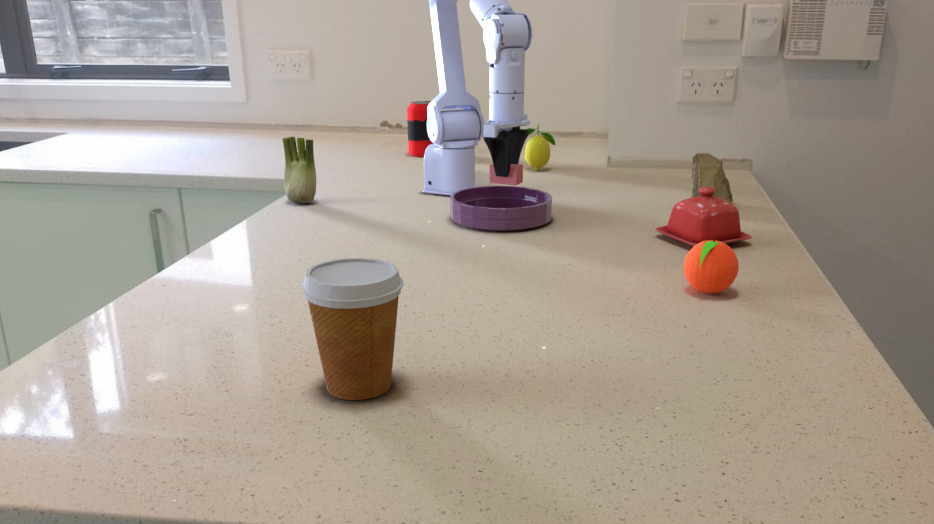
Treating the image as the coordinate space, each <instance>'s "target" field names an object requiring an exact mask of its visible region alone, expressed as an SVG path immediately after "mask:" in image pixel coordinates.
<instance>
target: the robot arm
mask: <svg viewBox="0 0 934 524" xmlns="http://www.w3.org/2000/svg"><path fill="white" fill-rule="evenodd" d="M458 1H459V0H428V4H429V5H428V6H429V14H430V20H431V28H432V37H433V43H434V44H433V45H434V55H435V63H436V71H437V80H438V89H439V93H438V94H437V95H436V96H435V97H434V98H433V99H432V100H430V101H431V102H430V103H429V105H428V107H427V115H428V118H427V132H428V136H429V139H430V140H431V141H432V143H433V144H431V145H429V146H428V147H427V148H426V150H425V154H424V157H423V186H424V187H423V188H424V189H422V193H424V194H433V195H444V196H451V195H452V193H454V192H457V191H459V190H463V189H467V188H472V187H480V185H476V147H477V146H479V142H480V141H481V140H482V139H483V141H484V143H485V145H486V146H487V149H488V151H489V154H490V157H491V161H492V164H493V166H494V170H495V174H496V176H500V177H508V175H509V172H510V166H511V164H520V163H519V162H520V158H521V154H522V151H523V148H524V145H525V143H526V141H527V139H528V137H529V136H530V135H529V130H526V129H527V128H526V129H524V128H521V127H527V126H530V125H531V120H530V119H528V114H527V113H525V65H526V64H525V63H526V61H525V59H526V52H527V50H529V48H530V47H531V44H532V40H533V26H532V22H531V20H530V18H529V15H528V14H527V13H525V12H519V11H515V10H514V9H513V8H512V6H511V4H510V3H509V2H508V0H469V9H470V12H471V13H472V14H473V16H474V18H475V19H476V20H477V22H478V23H479V26H480V27H481V28H482V30H483V32H482V39H483V45H484V48H485V56H486V57H485V59H486V62H487V63H488V64H489V102H488V103H489V105H488V106H489V107H488V110H489V113H488V114H489V118H488V119H487V122H486V123H485V119H484V115H483V113H482V109H481V105H480V101H479V99H477V98H476V97H475V96H474V95H472V94H471V93H470V92H469V91H467V87H466V86H467V85H466V77H465V69H464V68H465V67H464V60H463V52H462V51H463V50H462V41H461V33H460V24H459V15H458V14H459V13H458V6H457V3H458ZM528 135H529V136H528Z"/></svg>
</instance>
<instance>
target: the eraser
mask: <svg viewBox="0 0 934 524" xmlns="http://www.w3.org/2000/svg"><path fill="white" fill-rule="evenodd" d="M488 170H489V172H488V173H489V175H488V176H489V179H488V180H489V181H488V182H489V184H497V185H505V186H518V185H520V184H522V183H523V182H524V164H520V163H518V164H511V166H510V172H509V175H508V177H500V176H496V174H495V170H494V166H493V163H492V164H489V167H488Z"/></svg>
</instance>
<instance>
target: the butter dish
mask: <svg viewBox="0 0 934 524" xmlns="http://www.w3.org/2000/svg"><path fill="white" fill-rule="evenodd" d="M698 192H699V193H700V196H698V197H692V198H691V197H688V198H685V199H682V200H680V201H678V202H677V203H675V204H674V205H673V207H672V209H671V212H670V214H669V218H668V221H667V224H666V225H662V226H657V227H656V228H655V229H654V230H655V231H656V232H658V233H660V234H662V235H665V236H667V237H670V238H671V239H673V240H676V241H679V242H681V243H683V244H686V245H688V246H691V247H692V248H693V247H694V246H695V245H697V244H698V243H700V242H702V241H706V240H714V239H715V240H716V241H721V242H724V243H725V244H727V245H729V244H734V243H736V242H737V243H738V242H742V241H743V242H744V241H747V240H750V239H752V238H753V237H752V235H750V234H749V233H746V232H744V231H742V229H741V219H740V212H739V209H738V207H737V206H736V205H735V204H733V203H729V202H728V201H725V200H723V199H720V198H717V197H713V194H714V192H715V189H713V188H711V187H702V188H700V189H699V190H698Z"/></svg>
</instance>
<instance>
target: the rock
mask: <svg viewBox="0 0 934 524" xmlns="http://www.w3.org/2000/svg"><path fill="white" fill-rule="evenodd" d="M690 172H691V191H690V198H692V197H698V196H700V193H699V192H698V190H699V189H700V188H702V187H711V188H713V189H715V192H714V194H713V197H717V198H720V199H723V200H725V201H728V202H729V203H731V204H733V202H734V198H733V194H732V191H731V185H730V182H729V179H728V178H727V176H726V174H725V169H724V168H723V160H721V159H719V158H717V157H716V156H714V155H712V154H711V153H709V152H702V153H700V152H697V153H695V154H694V155H693V156H692V159H691V169H690Z"/></svg>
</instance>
